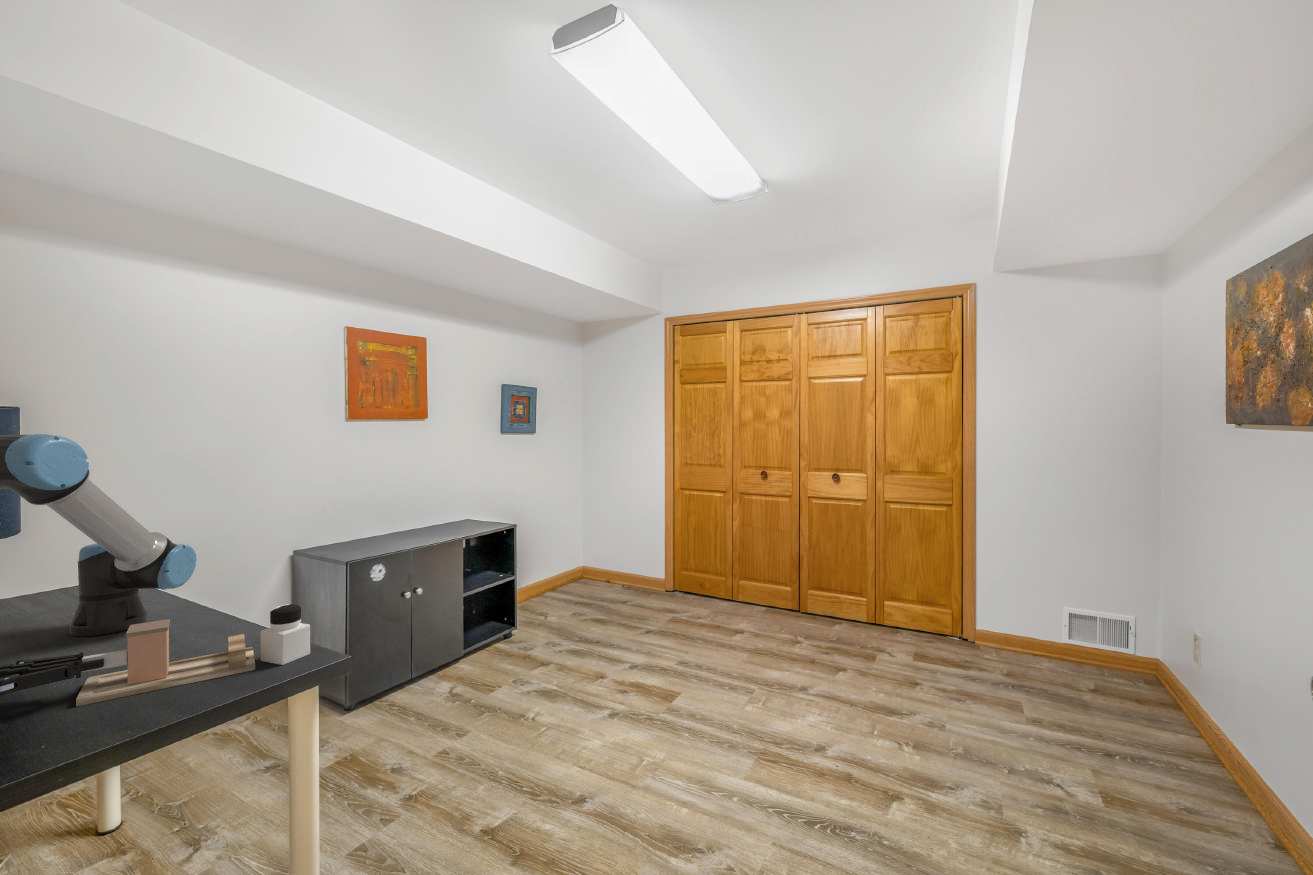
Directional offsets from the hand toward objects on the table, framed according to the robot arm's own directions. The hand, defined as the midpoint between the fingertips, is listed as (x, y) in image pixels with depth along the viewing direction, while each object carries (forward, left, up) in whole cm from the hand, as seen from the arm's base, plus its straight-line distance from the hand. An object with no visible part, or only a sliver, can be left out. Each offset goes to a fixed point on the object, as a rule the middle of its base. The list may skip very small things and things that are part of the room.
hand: (127, 656), depth 116 cm
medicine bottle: (+1, +27, -7) cm, 28 cm away
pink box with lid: (-1, +3, -5) cm, 6 cm away
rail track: (-1, +7, -6) cm, 10 cm away
